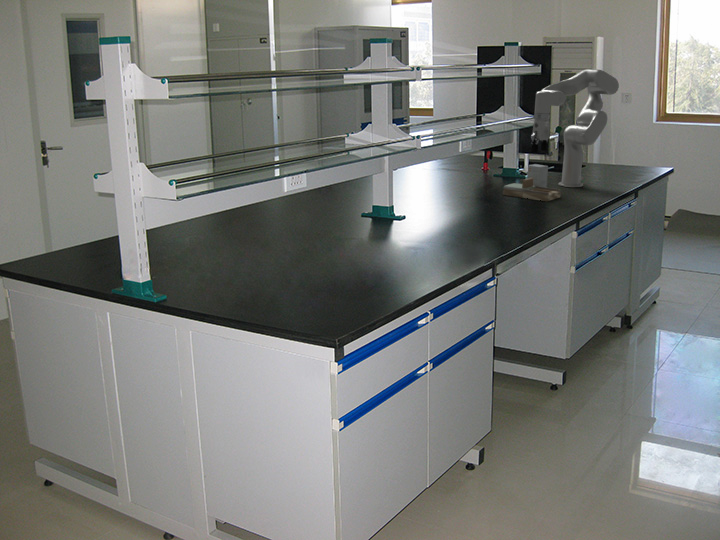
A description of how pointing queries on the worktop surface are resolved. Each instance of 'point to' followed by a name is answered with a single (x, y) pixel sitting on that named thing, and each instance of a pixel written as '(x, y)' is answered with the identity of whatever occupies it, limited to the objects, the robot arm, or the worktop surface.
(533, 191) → the sliding lid wooden box
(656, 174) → the worktop surface
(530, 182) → the lid
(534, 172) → the small box
